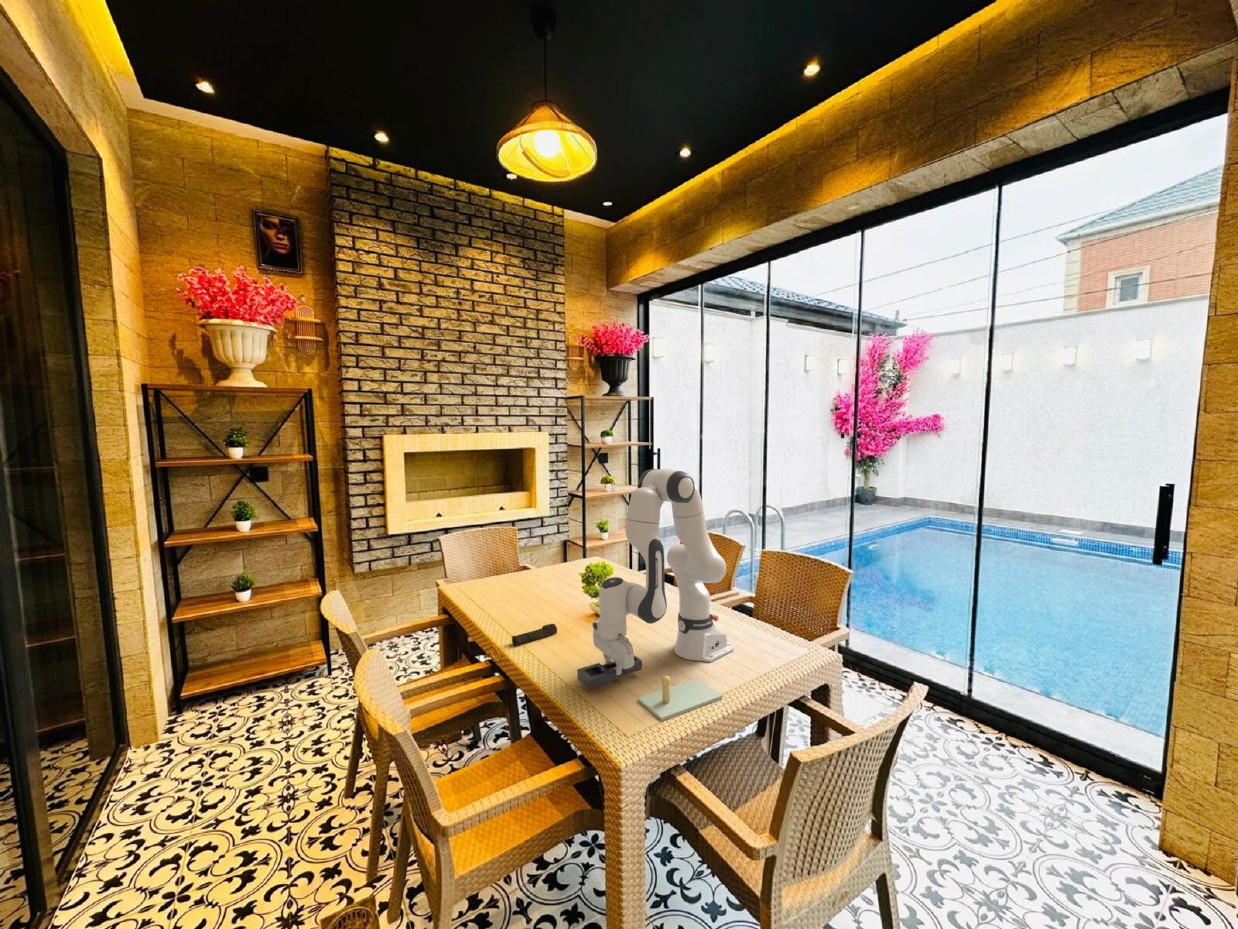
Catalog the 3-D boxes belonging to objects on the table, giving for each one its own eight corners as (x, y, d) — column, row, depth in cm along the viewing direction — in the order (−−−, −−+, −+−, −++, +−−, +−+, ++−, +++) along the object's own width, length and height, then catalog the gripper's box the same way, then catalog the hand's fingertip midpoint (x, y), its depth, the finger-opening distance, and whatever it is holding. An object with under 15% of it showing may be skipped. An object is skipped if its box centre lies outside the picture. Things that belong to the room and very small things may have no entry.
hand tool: (515, 648, 186) (515, 636, 186) (511, 644, 189) (511, 632, 189) (560, 636, 197) (560, 625, 197) (555, 632, 200) (555, 621, 200)
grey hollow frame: (589, 690, 153) (589, 680, 152) (577, 679, 159) (577, 669, 159) (645, 672, 163) (645, 662, 163) (631, 662, 170) (631, 653, 170)
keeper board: (696, 681, 162) (697, 655, 162) (722, 698, 152) (723, 670, 151) (638, 701, 150) (638, 672, 150) (661, 721, 140) (662, 690, 139)
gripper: (639, 638, 153) (639, 681, 154) (605, 616, 171) (606, 655, 172) (621, 643, 150) (622, 687, 151) (589, 620, 167) (590, 660, 169)
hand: (613, 670), depth 162 cm, fingers closed on grey hollow frame, 4 cm apart
